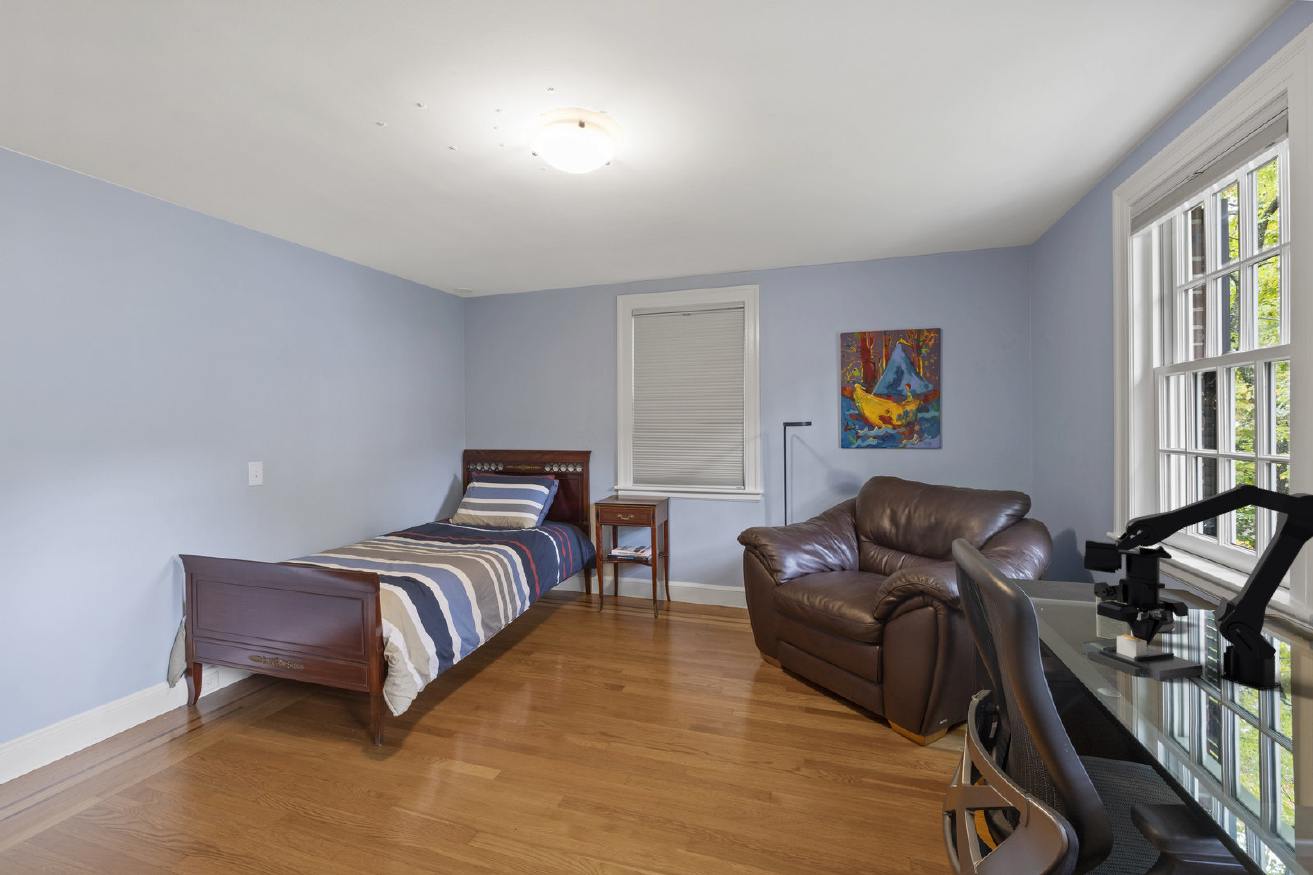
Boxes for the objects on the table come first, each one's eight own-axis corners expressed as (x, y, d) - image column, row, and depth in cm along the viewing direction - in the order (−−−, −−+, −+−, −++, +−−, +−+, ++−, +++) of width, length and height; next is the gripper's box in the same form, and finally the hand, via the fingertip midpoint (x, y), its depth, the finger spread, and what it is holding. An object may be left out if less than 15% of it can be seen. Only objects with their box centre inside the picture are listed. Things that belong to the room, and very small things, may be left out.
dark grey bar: (1140, 675, 120) (1140, 668, 120) (1135, 676, 120) (1135, 669, 120) (1092, 657, 130) (1092, 651, 130) (1087, 658, 129) (1087, 652, 129)
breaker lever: (1146, 657, 124) (1146, 639, 124) (1136, 658, 124) (1136, 640, 124) (1127, 651, 128) (1127, 633, 128) (1116, 652, 128) (1116, 634, 128)
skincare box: (1130, 638, 142) (1130, 588, 142) (1128, 643, 139) (1128, 591, 139) (1097, 632, 147) (1097, 583, 147) (1095, 636, 144) (1095, 587, 144)
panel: (1202, 674, 120) (1202, 661, 120) (1159, 680, 117) (1159, 666, 117) (1122, 647, 136) (1122, 635, 136) (1082, 652, 133) (1082, 640, 133)
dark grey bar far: (1122, 646, 137) (1122, 640, 137) (1089, 650, 134) (1089, 644, 134) (1116, 644, 138) (1116, 638, 138) (1083, 648, 136) (1083, 642, 136)
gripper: (1135, 566, 137) (1135, 633, 137) (1073, 570, 132) (1072, 639, 132) (1190, 577, 126) (1189, 649, 126) (1124, 582, 121) (1123, 657, 121)
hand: (1141, 648), depth 127 cm, fingers closed
